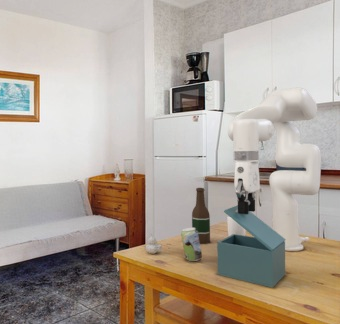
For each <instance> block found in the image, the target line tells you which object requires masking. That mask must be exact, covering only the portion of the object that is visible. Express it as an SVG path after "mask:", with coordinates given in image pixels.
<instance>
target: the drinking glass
mask: <svg viewBox="0 0 340 324" xmlns="http://www.w3.org/2000/svg"><path fill="white" fill-rule="evenodd" d="M226 229H227V237H229V236H230V235H232V234H236V235H243V236H247V231H246V230H245V229H244V228H243V227H242V226H240V225H239V224H238V223H237V222H236V221H234V220H233V219H232V218H231V217H230V216H228V215H227V217H226Z"/></svg>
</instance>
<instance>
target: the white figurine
mask: <svg viewBox="0 0 340 324" xmlns="http://www.w3.org/2000/svg"><path fill="white" fill-rule="evenodd" d="M146 241H147V244H146V245H145V251H146V252H147V253H148V254H150V255H151V254H152V255H153V254H157V253H158V252H161V251H162V247H163V245H162V244H161V243H158V241H157V238H156V237H155V236H154V235H153V234H152V233H150V237H149V238H148V239H147V240H146Z"/></svg>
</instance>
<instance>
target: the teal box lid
mask: <svg viewBox="0 0 340 324" xmlns="http://www.w3.org/2000/svg"><path fill="white" fill-rule="evenodd" d="M247 202H249V205H250V201H249V200H247ZM223 213H225V214H226V215H227V216H230V217H231V218H232V219H233V220H234V221H236V222H237V223H238V224H239V225H240V226H242V227H243V228H244V229H245V230H246V232H247V233H248V234H250V235H251V237H255V238H256V239H257V240H259V241H260V242H261V243H262V244H263V245H265V246H266V247H267V248H268V249H269V250H271V251H272V250H274V249H275V248H276V247H278V246H279V245H280V244H281V243H283V242H284V241H285V240H286V239H284V238H283V237H282V236H281V235H279V234H278V233H277V232H276V231H274V230H273V229H272V227H270V226H269V225H268V224H267V223H265V222H264V221H263V220H262V219H260V217H258V216H257V215H255V214H254V212H252V211H249V214H239V213H238V204H237V205H234V206H232V207H229V208H226V209H224V211H223Z"/></svg>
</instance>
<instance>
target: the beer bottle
mask: <svg viewBox="0 0 340 324" xmlns="http://www.w3.org/2000/svg"><path fill="white" fill-rule="evenodd" d="M195 191H196V194H195V195H196V196H195V198H196V199H195V205H194V208H193V209H192V211H191V228H195V229H196V230H197V232H198V236H199V242H200V245H201V244H202V245H206V244H210V242H211V223H210V222H211V215H210V211H209V209H208V208H207V207H206V201H205V191H206V190H205V188H204V187H196V189H195Z"/></svg>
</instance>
